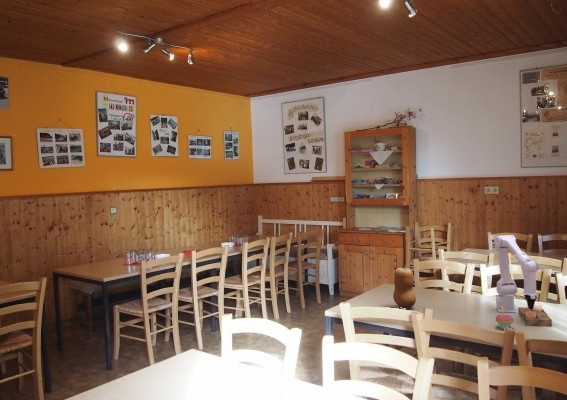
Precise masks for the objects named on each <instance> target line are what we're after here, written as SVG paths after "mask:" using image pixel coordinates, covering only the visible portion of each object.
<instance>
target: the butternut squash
mask: <svg viewBox="0 0 567 400" xmlns="http://www.w3.org/2000/svg"><path fill="white" fill-rule="evenodd" d="M393 281H394V282H393V283H394V291H393V295H392V297H393V302H395V305H396V306H398V307H399V308H400V307H402V308H409V309H411V308H412V307H414V306H415V304H416V303H417V302H416V301H417V296H416V293H415V291H414V287H413V286H414V272H413V271H412V270H411V269H410V268H407V267H399V268H398V267H397V268H396V269H395V271H394V277H393Z"/></svg>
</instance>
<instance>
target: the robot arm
mask: <svg viewBox="0 0 567 400" xmlns="http://www.w3.org/2000/svg"><path fill="white" fill-rule="evenodd" d="M493 241H494V249H495V250H496V252H497V260H498V265H499V267H498V268H499V274H500V278H499V280H498V281H497V282H496V288H495V289H496V292H497V295H496V296H495V302H496V303H495V307H496V310H497V312H498V313H502V306H503V312H504V313H517V310H516V309H515V296H516V294H517V292H518V287H517V284H516V281H515V280H513V279H512V278H511V272H510V264H509V257H508V250H510V251H511V252H512V253H513V254H514V255H515V259H516V261H517V262H518V264H520V269H521V271H522V275H523V294H524V295H523V296H524V298H525V301H526V304H527V307H528V308H529V309H533V308H534V303H536V301H537V298H538V296H537V294H539V293H540V292H539V291H537V272H538V270H539V265H538V262H537V261H536V260H534V259H531V258H530V256H529V255H528V254H527V253H526V252H525V251H523V250H521V249H520V247H519V245H518V243H517V238H516V237H515V235H513V234H507V235H496V236H495V237H494V240H493Z"/></svg>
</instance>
